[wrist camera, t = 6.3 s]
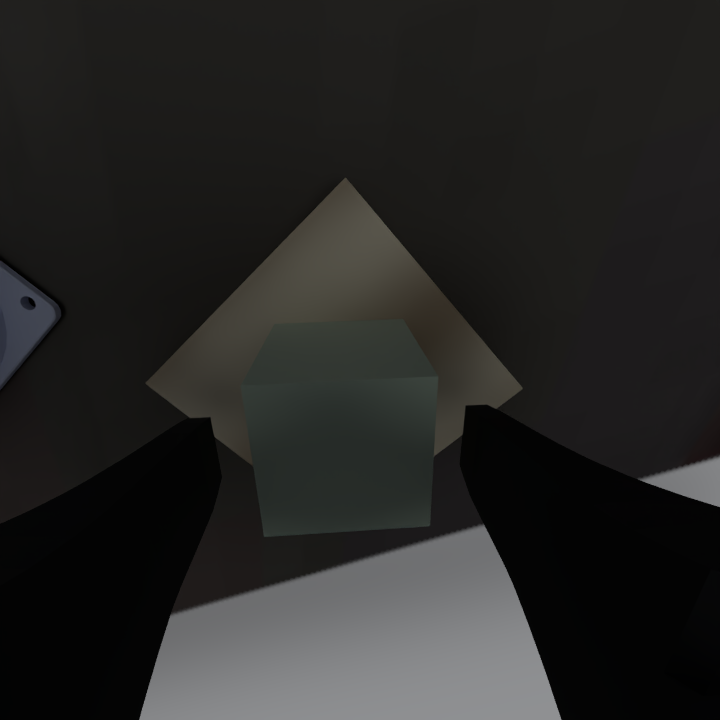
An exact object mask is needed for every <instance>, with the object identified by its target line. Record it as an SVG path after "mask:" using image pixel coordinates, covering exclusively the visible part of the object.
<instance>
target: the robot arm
mask: <svg viewBox="0 0 720 720" xmlns="http://www.w3.org/2000/svg"><path fill="white" fill-rule="evenodd" d="M29 297H30V298H32V299H33V300H34V301H35V304H36V307H34V306H32V305H31V304H30V303H29V300H28V298H29ZM60 317H61V310H60V308H59V306H58V305H57V304H56V303H55V302H54V301H53V300H52V299H50V298H49V297H48V296H46V295H45V294H44V293H43V292H41V291H40V290H39V289H37V288H36V287H35V286H33V285H32V284H31V283H29V282H28V281H27V280H26V279H24V278H23V277H22V276H20V275H19V274H18V273H16V272H15V271H14V270H12V269H11V268H10V267H8V266H7V265H6V264H5V263H3V262H2V261H1V260H0V390H1V389H2V388H3V386H4V385H5V384H6V383H7V382H8V380H9V379H10V378H11V377H12V376H13V374H14V373H15V372H16V371H17V370H18V368H19V367H20V366H21V365H22V364H23V362H24V361H25V360H26V359H27V358H28V356H29V355H30V354H31V353H32V352H33V350H34V349H35V348H36V347H37V346H38V344H39V343H40V342H41V341H42V340H43V338H44V337H45V336H46V335H47V334H48V332H49V331H50V330H51V329H52V328H53V326H54V325H55V324H56V323H57V322H58V320H59V319H60ZM460 467H461V470H462V473H463V476H464V479H465V482H466V485H467V488H468V491H469V494H470V496H471V498H472V501H473V503H474V505H475V507H476V509H477V511H478V513H479V515H480V517H481V519H482V521H483V523H484V525H485V527H486V529H487V531H488V533H489V535H490V537H491V539H492V541H493V543H494V545H495V547H496V549H497V551H498V553H499V555H500V557H501V559H502V561H503V563H504V565H505V567H506V569H507V572H508V574H509V576H510V578H511V581H512V583H513V585H514V588H515V590H516V593H517V595H518V598H519V600H520V603H521V606H522V608H523V611H524V614H525V616H526V619H527V622H528V624H529V627H530V630H531V632H532V635H533V638H534V641H535V644H536V646H537V649H538V652H539V655H540V658H541V660H542V663H543V666H544V669H545V672H546V674H547V677H548V680H549V684H550V686H551V690H552V693H553V696H554V699H555V701H556V704H557V708H558V710H559V713H560V716H561V719H562V720H720V507H717V506H714V505H711V504H708V503H704V502H701V501H698V500H695V499H691V498H688V497H685V496H682V495H679V494H676V493H673V492H671V491H668V490H665V489H662V488H659V487H656V486H654V485H651V484H648V483H645V482H643V481H640V480H638V479H635V478H632V477H630V476H627V475H625V474H623V473H620V472H618V471H616V470H613V469H611V468H608V467H606V466H604V465H601V464H599V463H597V462H595V461H592V460H590V459H588V458H586V457H584V456H582V455H580V454H578V453H576V452H574V451H572V450H570V449H568V448H566V447H564V446H562V445H560V444H558V443H556V442H554V441H552V440H551V439H549V438H547V437H545V436H543V435H541V434H540V433H538V432H536V431H534V430H533V429H531V428H529V427H527V426H526V425H524V424H522V423H520V422H519V421H517V420H515V419H513V418H512V417H510V416H508V415H506V414H504V413H503V412H501V411H499V410H497V409H495V408H493V407H491V406H489V405H487V404H485V405H466V406H465V416H464V426H463V436H462V446H461V456H460ZM221 479H222V475H221V470H220V465H219V459H218V454H217V449H216V444H215V438H214V433H213V428H212V423H211V417H202V418H187V419H186V420H184V421H182V422H180V423H178V424H177V425H175V426H173V427H172V428H170V429H169V430H167V431H165V432H164V433H162V434H161V435H159V436H158V437H156V438H155V439H153V440H152V441H150V442H149V443H147V444H146V445H144V446H142V447H141V448H139V449H138V450H136V451H135V452H133V453H132V454H130V455H129V456H127V457H125V458H124V459H122V460H120V461H119V462H117V463H115V464H114V465H112V466H111V467H109V468H107V469H106V470H104V471H102V472H101V473H99V474H97V475H96V476H94V477H92V478H91V479H89V480H87V481H85V482H84V483H82V484H80V485H78V486H77V487H75V488H73V489H71V490H69V491H67V492H66V493H64V494H62V495H60V496H58V497H56V498H54V499H52V500H50V501H48V502H46V503H44V504H42V505H40V506H38V507H36V508H34V509H32V510H30V511H28V512H26V513H24V514H21V515H19V516H17V517H15V518H12V519H10V520H8V521H6V522H4V523H1V524H0V720H139V718H140V714H141V711H142V707H143V704H144V700H145V697H146V693H147V690H148V686H149V683H150V679H151V676H152V673H153V669H154V666H155V662H156V659H157V655H158V652H159V649H160V646H161V643H162V640H163V636H164V633H165V630H166V627H167V624H168V621H169V618H170V614H171V611H172V608H173V606H174V603H175V600H176V598H177V595H178V592H179V590H180V587H181V585H182V583H183V580H184V578H185V576H186V573H187V571H188V569H189V566H190V564H191V562H192V559H193V557H194V555H195V552H196V550H197V548H198V545H199V543H200V541H201V538H202V536H203V533H204V531H205V529H206V526H207V524H208V521H209V519H210V517H211V514H212V512H213V509H214V505H215V502H216V498H217V494H218V491H219V487H220V483H221Z"/></svg>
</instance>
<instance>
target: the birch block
mask: <svg viewBox="0 0 720 720" xmlns="http://www.w3.org/2000/svg"><path fill="white" fill-rule="evenodd" d="M384 319H403V320H404V321H405V323H406V325H407V326H408V328H409V329H410V331H411V333H412V334H413V336H414V338H415V339H416V341H417V343H418V344H419V346H420V347H421V349H422V351H423V352H424V354H425V356H426V357H427V359H428V360H429V362H430V364H431V365H432V367H433V369H434V370H435V372H436V374H437V375H438V390H437V408H436V426H435V444H434V456H435V455H436V454H438V453H439V452H440V451H442V450H443V449H444V448H446V447H447V446H448V445H450V444H451V443H452V442H454V441H455V440H456V439H457V438H459V437H460V436H461V435H463V426H464V416H465V406H466V405H485V404H487V405H489V406H491V407H493V408H495V409H497V408H498V407H499V406H501V405H502V404H503V403H505V402H506V401H507V400H509V399H510V398H511V397H513V396H514V395H515V394H516V393H518V392H519V391H520V390H522V389H523V388H522V387H521V386H520V384H519V383H518V382H517V381H516V380H515V378H514V377H513V376H512V375H511V374H510V373H509V371H508V370H507V369H506V368H505V367H504V365H503V364H502V363H501V362H500V361H499V359H498V358H497V357H496V356H495V355H494V354H493V352H492V351H491V350H490V349H489V348H488V346H487V345H486V344H485V343H484V342H483V340H482V339H481V338H480V337H479V336H478V334H477V333H476V332H475V331H474V330H473V329H472V327H471V326H470V325H469V324H468V323H467V321H466V320H465V319H464V318H463V317H462V315H461V314H460V313H459V312H458V311H457V309H456V308H455V307H454V306H453V305H452V304H451V302H450V301H449V300H448V299H447V298H446V296H445V295H444V294H443V293H442V292H441V290H440V289H439V288H438V287H437V286H436V285H435V283H434V282H433V281H432V280H431V279H430V277H429V276H428V275H427V274H426V273H425V271H424V270H423V269H422V268H421V267H420V265H419V264H418V263H417V262H416V261H415V260H414V258H413V257H412V256H411V255H410V254H409V252H408V251H407V250H406V249H405V248H404V246H403V245H402V244H401V243H400V242H399V241H398V239H397V238H396V237H395V236H394V235H393V233H392V232H391V231H390V230H389V229H388V227H387V226H386V225H385V224H384V223H383V221H382V220H381V219H380V218H379V217H378V216H377V214H376V213H375V212H374V211H373V210H372V208H371V207H370V206H369V205H368V204H367V202H366V201H365V200H364V199H363V198H362V196H361V195H360V194H359V193H358V192H357V191H356V189H355V188H354V187H353V186H352V185H351V183H350V182H349V181H348V180H347V179H346V178H345V179H344V180H343V181H342V182H341V183H340V184H339V185H338V186H337V187H336V188H335V189H334V190H333V191H332V192H331V193H330V194H329V195H328V196H327V197H326V198H325V199H324V200H323V201H322V202H321V203H320V204H319V205H318V206H317V207H316V208H315V209H314V210H313V211H312V212H311V213H310V215H309V216H308V217H307V218H306V219H305V220H304V221H303V222H302V223H301V224H300V225H299V226H298V227H297V228H296V229H295V230H294V231H293V232H292V233H291V234H290V235H289V236H288V237H287V238H286V239H285V240H284V241H283V242H282V243H281V244H280V245H279V246H278V247H277V248H276V249H275V250H274V252H273V253H272V254H271V255H270V256H269V257H268V258H267V259H266V260H265V261H264V262H263V263H262V264H261V265H260V266H259V267H258V268H257V269H256V270H255V271H254V272H253V273H252V274H251V275H250V276H249V277H248V278H247V279H246V280H245V281H244V282H243V283H242V284H241V285H240V286H239V287H238V288H237V290H236V291H235V292H234V293H233V294H232V295H231V296H230V297H229V298H228V299H227V300H226V301H225V302H224V303H223V304H222V305H221V306H220V307H219V308H218V309H217V310H216V311H215V312H214V313H213V314H212V315H211V316H210V317H209V318H208V319H207V320H206V321H205V322H204V323H203V324H202V325H201V327H200V328H199V329H198V330H197V331H196V332H195V333H194V334H193V335H192V336H191V337H190V338H189V339H188V340H187V341H186V342H185V343H184V344H183V345H182V346H181V347H180V348H179V349H178V350H177V351H176V352H175V353H174V354H173V355H172V356H171V357H170V358H169V359H168V360H167V361H166V362H165V364H164V365H163V366H162V367H161V368H160V369H159V370H158V371H157V372H156V373H155V374H154V375H153V376H152V377H151V378H150V379H149V380H148V381H147V382H146V383H145V384H146V385H148V386H149V387H150V388H152V389H153V390H154V391H156V392H157V393H158V394H159V395H161V396H162V397H163V398H165V399H166V400H167V401H169V402H170V403H171V404H173V405H174V406H175V407H176V408H178V409H179V410H180V411H182V412H183V413H184V414H186V415H187V416H188V417H189V418H202V417H211V423H212V428H213V433H214V437H216V438H217V439H218V440H219V441H221V442H222V443H223V444H225V445H226V446H227V447H229V448H230V449H231V450H233V451H234V452H235V453H236V454H238V455H239V456H240V457H242V458H243V459H244V460H246V461H247V462H248V463H249V464H251V465H252V466H253V462H252V455H251V449H250V443H249V436H248V430H247V424H246V417H245V411H244V404H243V398H242V392H241V384H242V382H243V380H244V379H245V377H246V375H247V373H248V371H249V369H250V368H251V366H252V364H253V362H254V360H255V359H256V357H257V355H258V353H259V351H260V349H261V348H262V346H263V344H264V342H265V340H266V338H267V337H268V335H269V333H270V331H271V329H272V328H273V326H274V324H284V323H309V322H334V321H359V320H384Z"/></svg>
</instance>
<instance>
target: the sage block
mask: <svg viewBox="0 0 720 720" xmlns="http://www.w3.org/2000/svg"><path fill="white" fill-rule="evenodd" d="M437 390H438V375H437V374H436V372H435V370H434V369H433V367H432V365H431V364H430V362H429V360H428V359H427V357H426V356H425V354H424V352H423V351H422V349H421V347H420V346H419V344H418V343H417V341H416V339H415V338H414V336H413V334H412V333H411V331H410V329H409V328H408V326H407V325H406V323H405V321H404V320H403V319H384V320H359V321H334V322H309V323H284V324H274V326H273V328H272V329H271V331H270V333H269V335H268V337H267V338H266V340H265V342H264V344H263V346H262V348H261V349H260V351H259V353H258V355H257V357H256V359H255V360H254V362H253V364H252V366H251V368H250V369H249V371H248V373H247V375H246V377H245V379H244V380H243V382H242V384H241V392H242V398H243V404H244V411H245V417H246V424H247V430H248V436H249V443H250V449H251V455H252V462H253V468H254V474H255V481H256V487H257V493H258V500H259V506H260V513H261V519H262V525H263V532H264V537H270V536H286V535H301V534H317V533H332V532H347V531H363V530H378V529H394V528H409V527H425V526H430V515H431V497H432V479H433V461H434V444H435V426H436V408H437Z"/></svg>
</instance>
